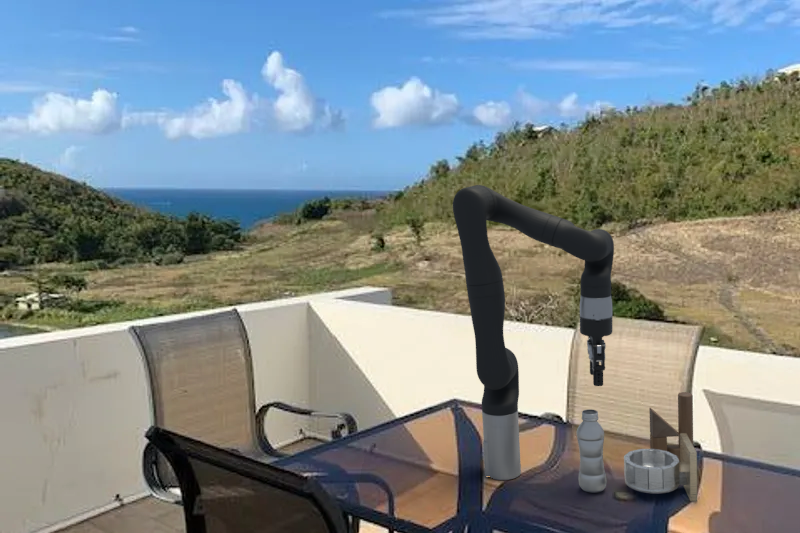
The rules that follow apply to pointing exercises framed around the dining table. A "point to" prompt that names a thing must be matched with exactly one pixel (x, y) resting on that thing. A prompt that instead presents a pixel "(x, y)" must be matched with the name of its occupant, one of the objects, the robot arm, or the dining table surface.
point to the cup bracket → (662, 469)
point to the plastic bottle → (591, 453)
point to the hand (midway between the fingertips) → (596, 379)
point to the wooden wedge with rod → (664, 429)
